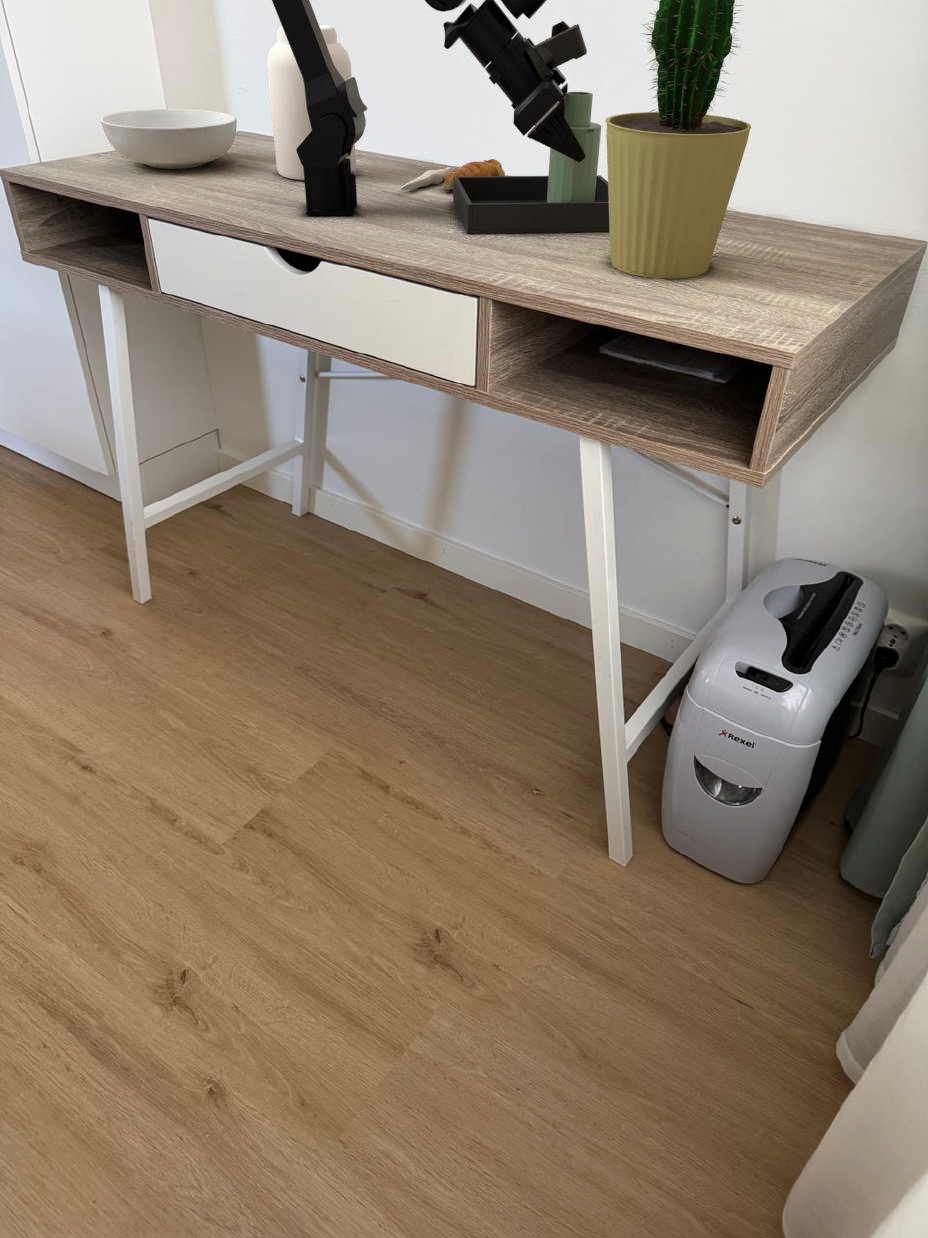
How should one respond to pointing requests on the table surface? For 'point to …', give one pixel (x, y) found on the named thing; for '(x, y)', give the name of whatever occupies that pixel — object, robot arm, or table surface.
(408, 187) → the parsnip
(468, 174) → the pastry
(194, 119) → the serving bowl
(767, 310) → the table surface
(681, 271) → the potted cactus
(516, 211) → the tray
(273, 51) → the cream vase
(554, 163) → the bottle
